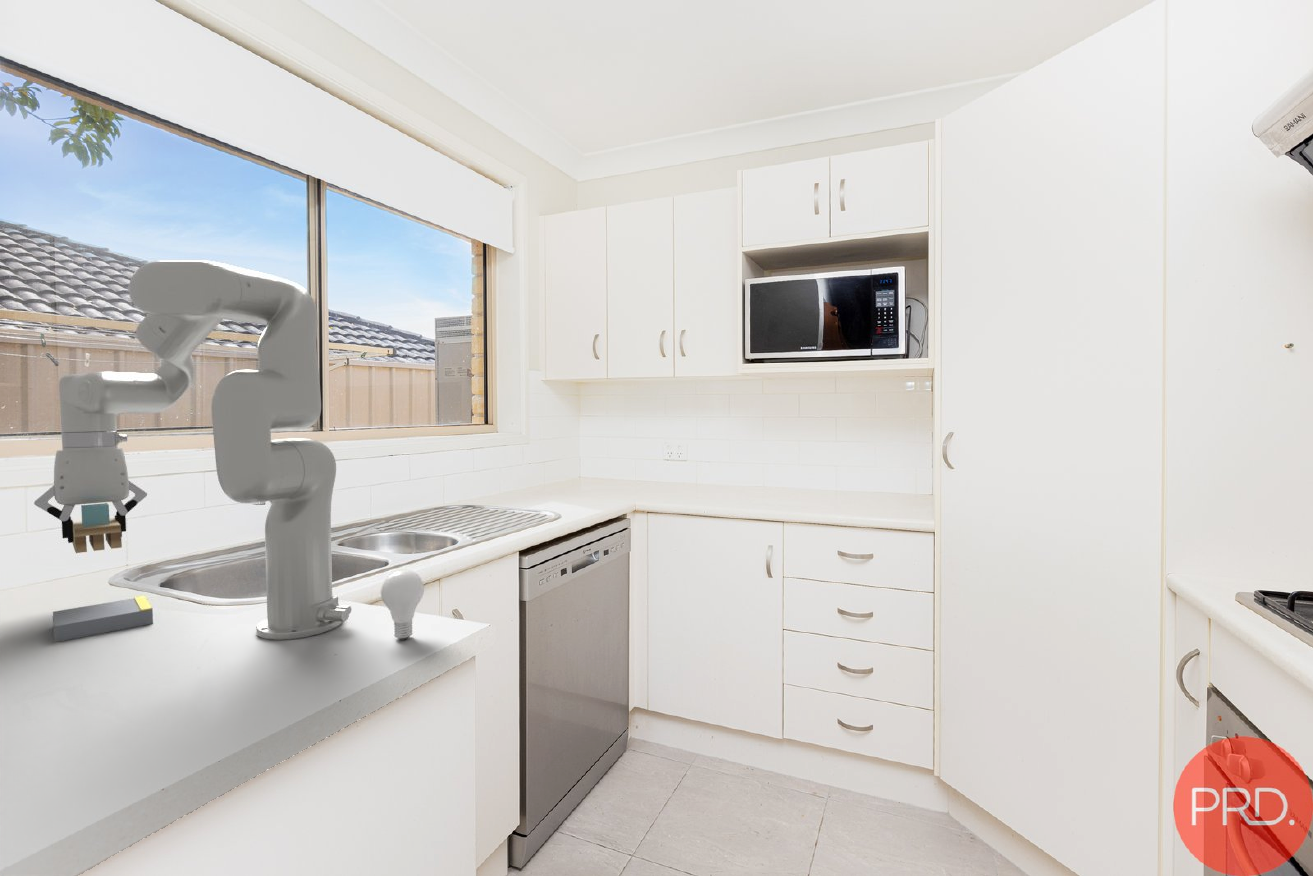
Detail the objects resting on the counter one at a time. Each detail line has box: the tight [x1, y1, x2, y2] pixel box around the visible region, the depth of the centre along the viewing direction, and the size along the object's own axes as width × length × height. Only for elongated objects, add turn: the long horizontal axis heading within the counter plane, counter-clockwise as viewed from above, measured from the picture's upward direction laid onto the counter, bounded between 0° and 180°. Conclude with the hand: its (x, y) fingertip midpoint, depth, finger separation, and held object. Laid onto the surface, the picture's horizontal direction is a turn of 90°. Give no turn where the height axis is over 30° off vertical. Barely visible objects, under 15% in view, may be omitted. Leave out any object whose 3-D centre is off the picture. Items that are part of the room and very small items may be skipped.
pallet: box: [72, 517, 123, 554], centre depth 113 cm, size 12×6×4 cm, turn 45°
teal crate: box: [80, 502, 110, 527], centre depth 112 cm, size 4×4×4 cm
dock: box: [52, 595, 154, 643], centre depth 105 cm, size 10×12×3 cm
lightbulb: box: [380, 569, 425, 640], centre depth 98 cm, size 6×6×11 cm
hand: (95, 538), depth 115 cm, fingers closed on pallet, 6 cm apart
